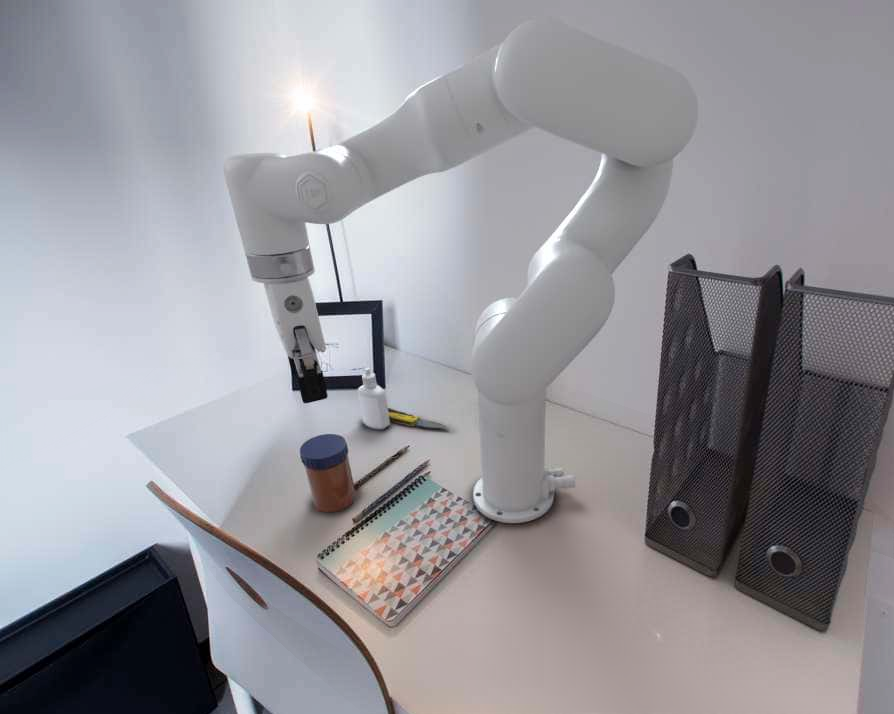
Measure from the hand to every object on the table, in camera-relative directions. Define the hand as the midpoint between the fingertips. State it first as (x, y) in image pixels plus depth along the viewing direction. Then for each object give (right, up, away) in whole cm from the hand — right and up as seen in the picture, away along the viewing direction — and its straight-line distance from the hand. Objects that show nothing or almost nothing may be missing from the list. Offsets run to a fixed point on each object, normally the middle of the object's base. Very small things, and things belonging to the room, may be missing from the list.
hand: (309, 385), depth 74 cm
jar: (+1, -18, +10) cm, 20 cm away
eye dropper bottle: (+3, -7, +29) cm, 30 cm away
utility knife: (+10, -7, +30) cm, 32 cm away
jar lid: (0, -9, +5) cm, 11 cm away
